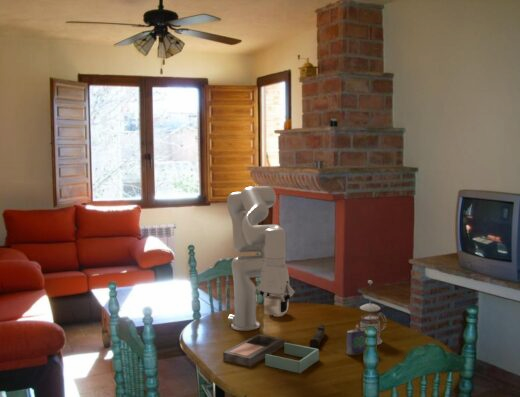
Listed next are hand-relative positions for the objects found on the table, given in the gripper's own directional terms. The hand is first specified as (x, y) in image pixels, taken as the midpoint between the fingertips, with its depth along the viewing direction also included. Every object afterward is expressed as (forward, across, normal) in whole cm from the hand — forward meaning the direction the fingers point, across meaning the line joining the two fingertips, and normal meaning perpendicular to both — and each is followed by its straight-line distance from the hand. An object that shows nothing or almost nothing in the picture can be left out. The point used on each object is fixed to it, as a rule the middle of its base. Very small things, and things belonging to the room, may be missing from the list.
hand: (275, 309), depth 201 cm
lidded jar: (+20, -28, +51) cm, 61 cm away
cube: (+1, 0, 0) cm, 1 cm away
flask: (+19, +24, +22) cm, 37 cm away
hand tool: (+20, +4, +27) cm, 34 cm away
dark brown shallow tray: (+19, -11, +2) cm, 22 cm away
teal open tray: (+19, +6, +1) cm, 20 cm away
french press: (+19, +24, +37) cm, 48 cm away
